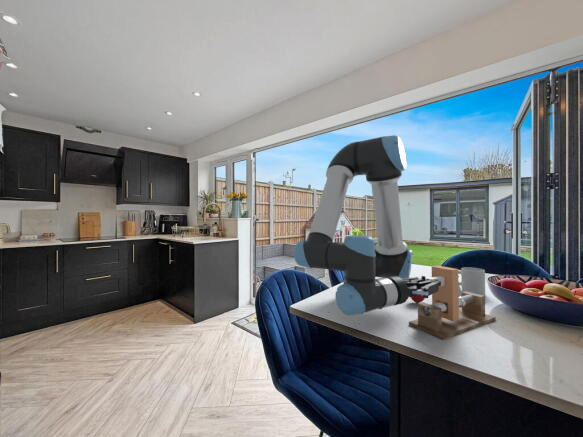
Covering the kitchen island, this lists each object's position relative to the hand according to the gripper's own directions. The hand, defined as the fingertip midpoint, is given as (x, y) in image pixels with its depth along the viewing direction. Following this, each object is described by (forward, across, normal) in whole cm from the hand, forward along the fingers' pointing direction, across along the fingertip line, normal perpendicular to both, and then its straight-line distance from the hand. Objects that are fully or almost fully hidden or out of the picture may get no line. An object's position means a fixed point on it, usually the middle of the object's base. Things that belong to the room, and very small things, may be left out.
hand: (442, 280), depth 77 cm
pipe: (+6, 0, -10) cm, 12 cm away
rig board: (+6, 0, -14) cm, 16 cm away
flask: (+30, -14, -15) cm, 36 cm away
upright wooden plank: (+2, 0, -12) cm, 12 cm away
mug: (+44, -16, -15) cm, 49 cm away
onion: (+12, -18, -15) cm, 26 cm away
